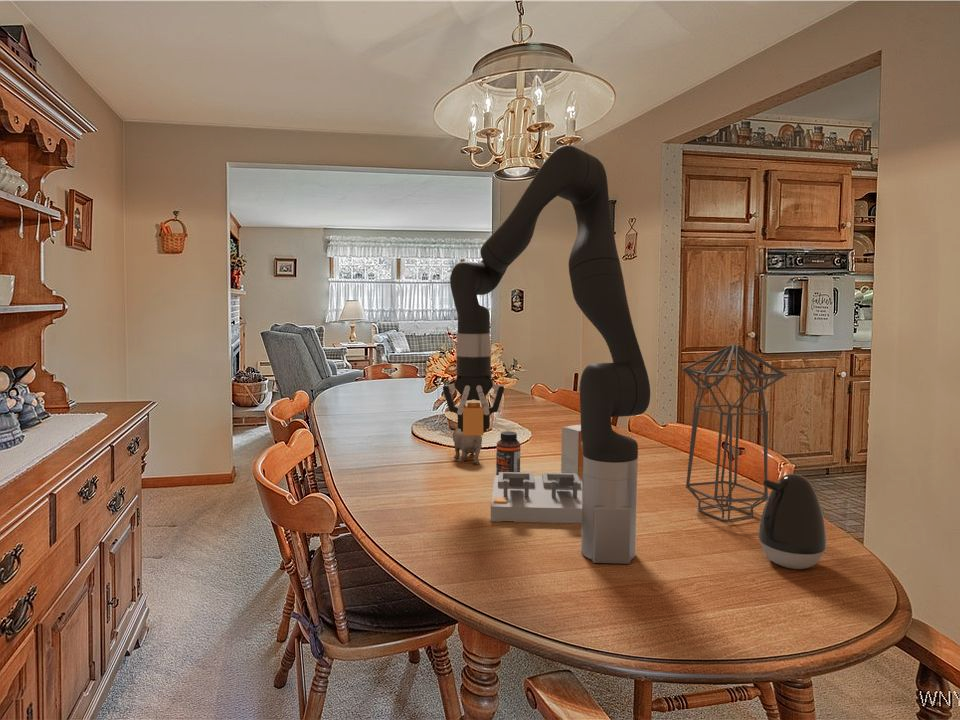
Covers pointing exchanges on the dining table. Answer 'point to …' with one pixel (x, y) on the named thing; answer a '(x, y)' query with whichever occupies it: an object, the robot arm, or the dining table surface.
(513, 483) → the breaker
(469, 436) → the rhinoceros figurine
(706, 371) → the geometric lantern
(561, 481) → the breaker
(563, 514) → the breaker panel
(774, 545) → the pump dispenser
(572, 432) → the small box
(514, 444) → the supplement bottle
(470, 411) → the cap
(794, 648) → the dining table surface
